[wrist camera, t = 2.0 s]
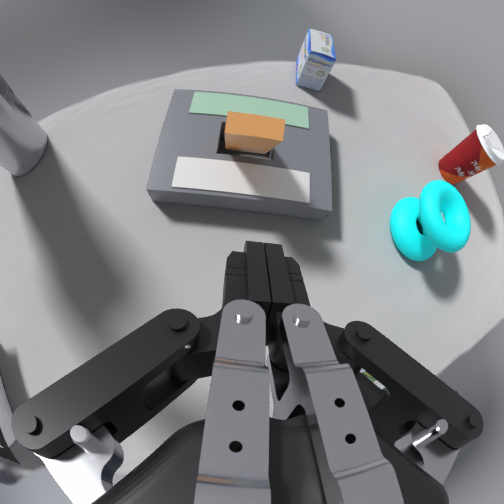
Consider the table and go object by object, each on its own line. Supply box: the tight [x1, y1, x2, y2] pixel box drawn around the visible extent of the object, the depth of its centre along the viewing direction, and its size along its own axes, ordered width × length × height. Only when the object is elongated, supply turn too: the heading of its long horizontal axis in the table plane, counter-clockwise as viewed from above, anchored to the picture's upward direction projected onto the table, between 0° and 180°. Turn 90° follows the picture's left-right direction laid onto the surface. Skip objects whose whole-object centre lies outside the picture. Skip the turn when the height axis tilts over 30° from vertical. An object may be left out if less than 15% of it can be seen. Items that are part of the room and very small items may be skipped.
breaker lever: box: [225, 111, 285, 154], centre depth 27 cm, size 2×5×12 cm, turn 85°
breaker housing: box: [146, 89, 332, 221], centre depth 34 cm, size 16×22×4 cm
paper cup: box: [439, 124, 504, 184], centre depth 35 cm, size 8×8×14 cm
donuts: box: [390, 180, 471, 261], centre depth 33 cm, size 10×10×10 cm
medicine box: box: [296, 29, 336, 91], centre depth 37 cm, size 8×4×9 cm, turn 174°
